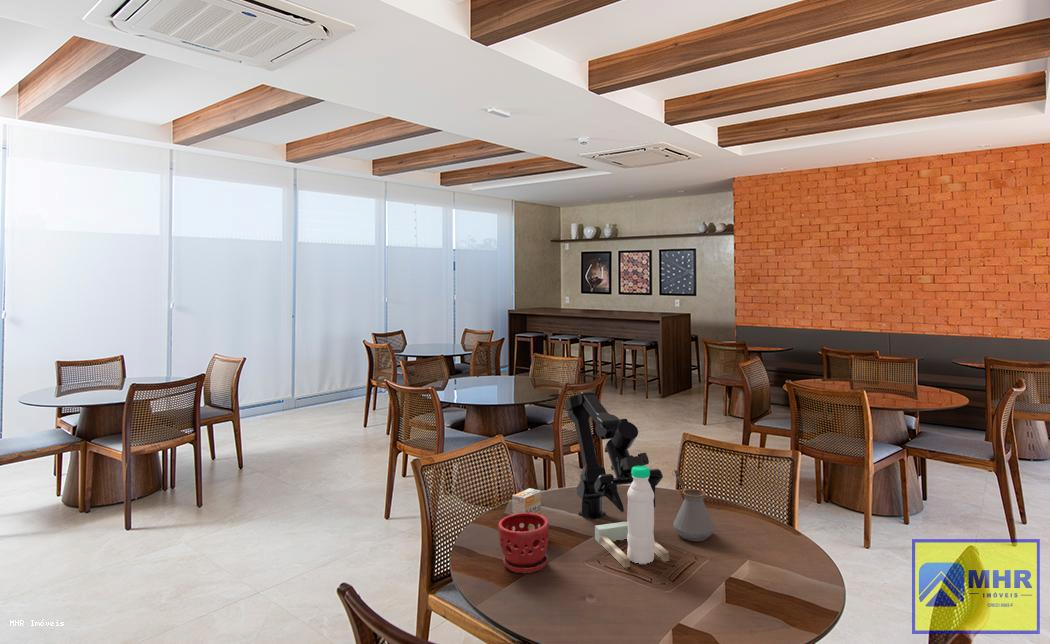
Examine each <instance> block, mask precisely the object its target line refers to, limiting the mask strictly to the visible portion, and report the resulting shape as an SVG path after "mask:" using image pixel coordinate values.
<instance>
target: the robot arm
mask: <svg viewBox="0 0 1050 644" xmlns="http://www.w3.org/2000/svg"><path fill="white" fill-rule="evenodd" d="M564 408H565V411H566V413H567V416H568V418H569V419H570V420H571V421H572V423H574V426H575V431H576V435H577V436H576V437H577V442H578V446H579V452H580V456H581V463H582V466H583V467H582V470H581V472H580V475H579V478H580V481H579V483H578V485H577V486H576V495H577V496H578V497H579V498H581V511H579V512H578V514H577V515H578V516H582V517H585V518H588V519H591V520H596V519H597V520H598V518H601V517H603V516H605V515H606V514H607V513H606V512H605V511H603V505H602V503H603V497H606V499H608V500H609V501H610V502H611V503H612V504H613V505H614V506H615V507H616V508H617V509H618V510H619V511H620V512H621V513H624V512H625V508H624V504H623V502H622V499H621V497H620V495H619V491H618V486H621V485H629V484H630V485H631V483H632V482H633V477H632V473H631V471H632V468H633V467H634V466H638V465H640V466H647V465H649V464H650V463H649V462H650V461H649V457H648V454H647V453H646V452H640V453H638V454H637V456H635V455H634V456H633V455H631V454H630V452H629V449H630V448H631V447H632V445H633V443H634V442H635V440H636V438H637V437H638V435H639V430H638V429H639V428H638V427H636V425H635V424H633V423H632V422H630V421H629V420H628V419H627V418H619V417H618V416H617V415H614V414H611V413H609V412H608V411H607V410H606V408H605V407H604V405H603V404H602V403H601V401H600V400H599V399H598V398H597V394H596V393H595V391H583V392H582V391H581V392H579V393H578V394H576V395H573V396H568V398H567V399H566V400H565V402H564ZM590 418H591V419H592V421H593V422H594V424H595V429H594V430H595V432H596V433H595V434H596V435H597V437H598V438H599V439H600V440H603V441H604V440H608V441H606V445H605V447H604V453H607V454H608V457H609V460H610V463H611V466H610V469H611V471H613V472H614V475H615V477H614V475H613V474H612V473H606V468H605V467H604V466H601V465H600V464H599V463H598V458H597V452H596V448H595V447H596V446H595V443H594V437H593V433H592V429H591V425H590V424H591V423H590ZM649 470H650V476H649V478H648V482H649V483H650V485H651V488H652V490H653V492H654V500H653V502H654V509H655V508H656V487H657V485H659V483H660V482H661V480H662V479H663V477H664V476H663V472H662V471H661V469H659V468H651V469H650V468H649Z"/></svg>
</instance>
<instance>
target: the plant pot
mask: <svg viewBox="0 0 1050 644" xmlns="http://www.w3.org/2000/svg"><path fill="white" fill-rule="evenodd" d="M521 523H523V524H524V527H522V528H521V527H520V526H519V525H520V524H521ZM529 524H533V525H534V527H535V530H532V531H530V530H529V529H528V525H529ZM538 524H540V526H541V527H540V528H539V527H538ZM513 526H514V527H515V530H514V531H513ZM517 531H519V532H517ZM549 536H550V526H549V521H548V518H547V517H545V516H544V515H542V514H541V515H539V514H534V513H518V514H513V513H512V514H510V515H507V516H505V517H503V518H501V519H500V521H498V538H499V544H500V548H501V551H502V554H503V556H504V557H503V564H504V566H505V567H506V569H508V570H510V571H512V572H514V573H518V574H530V573H531V574H532V573H534V572H538V571H540V570H542V569H543V568H545V566H546V565H547V563H548V560H549V558H548V557H549V556H548V555H547V550H548V545H549V538H550V537H549Z"/></svg>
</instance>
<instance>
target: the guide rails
mask: <svg viewBox="0 0 1050 644" xmlns="http://www.w3.org/2000/svg"><path fill="white" fill-rule="evenodd" d="M598 544H599V545H600V546H601V545H602V546H603V547H604V548H605V549H606V550H607V551H608V552H609V553H610V554H611V555H612V556H613V557H614V558H615V559H616V560H617V561H618V562H619V563H620V564H621V565H622V566H623V567H630V565H631V563H630V562H631V561H630V558H629V557H627V554H626V553H625V552H624V551H622V549H620V548H619V547H618V545H616V544H615V543H614V541H613V542H612V541H611V540H610V539H609V538H608V537H606V536H605V535H604V534H602V535H599V543H598ZM602 546H601V547H602ZM603 547H602V548H603ZM604 548H603V549H604ZM605 549H604V550H605ZM606 550H605V551H606ZM607 551H606V552H607ZM608 552H607V553H608ZM609 553H608V554H609ZM654 553H655V554H656V555H657V556H658V557H660V558H661V559H662V560H663V561H669V562H670V552H669V551H668V549H666V548H664V547H663V546H662V545H661V544H660V543H659V542H657V541H656V540H655V539H654ZM610 554H609V555H610ZM655 554H654V555H655ZM611 555H610V556H611ZM656 555H655V556H656ZM612 556H611V557H612ZM657 556H656V557H657ZM613 557H612V558H613ZM658 557H657V558H658ZM614 558H613V559H614ZM615 559H614V560H615ZM661 559H660V560H661ZM616 560H615V561H616ZM662 560H661V561H662ZM617 561H616V562H617ZM663 561H662V562H663ZM618 562H617V563H618ZM619 563H618V564H619ZM620 564H619V565H620ZM621 565H620V566H621ZM622 566H621V567H622ZM623 567H622V568H623ZM630 568H631V567H630Z"/></svg>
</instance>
